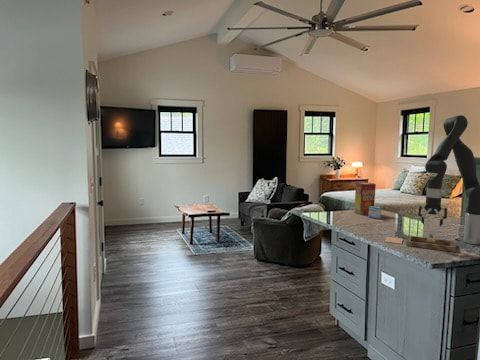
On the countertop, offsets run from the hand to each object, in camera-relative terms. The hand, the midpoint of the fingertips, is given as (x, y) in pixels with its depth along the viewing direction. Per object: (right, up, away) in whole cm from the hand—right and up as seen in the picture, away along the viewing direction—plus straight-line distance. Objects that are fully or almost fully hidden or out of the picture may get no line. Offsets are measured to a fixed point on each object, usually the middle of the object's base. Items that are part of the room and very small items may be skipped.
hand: (431, 224), depth 202 cm
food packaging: (-6, -2, +94) cm, 94 cm away
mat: (-17, -11, +10) cm, 22 cm away
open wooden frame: (0, -12, +1) cm, 12 cm away
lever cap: (0, -12, +1) cm, 12 cm away
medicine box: (-4, -4, +76) cm, 76 cm away
